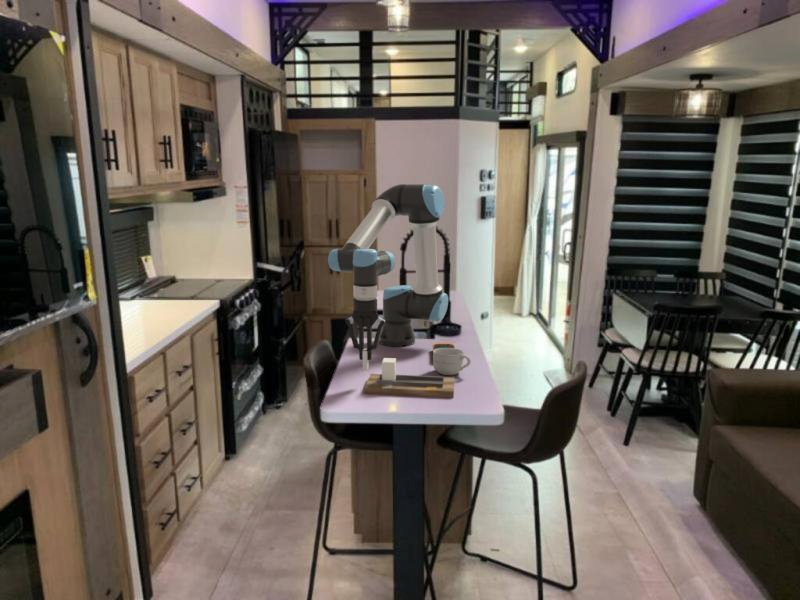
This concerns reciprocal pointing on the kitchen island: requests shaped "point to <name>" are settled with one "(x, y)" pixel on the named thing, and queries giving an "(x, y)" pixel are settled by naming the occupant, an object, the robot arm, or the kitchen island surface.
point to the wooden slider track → (411, 386)
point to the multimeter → (443, 345)
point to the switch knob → (389, 369)
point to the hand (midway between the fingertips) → (365, 369)
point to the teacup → (449, 360)
